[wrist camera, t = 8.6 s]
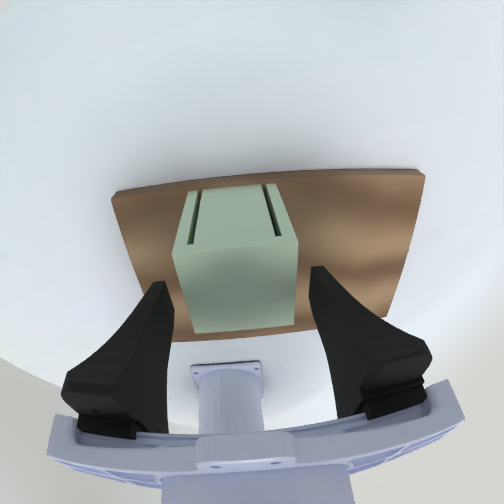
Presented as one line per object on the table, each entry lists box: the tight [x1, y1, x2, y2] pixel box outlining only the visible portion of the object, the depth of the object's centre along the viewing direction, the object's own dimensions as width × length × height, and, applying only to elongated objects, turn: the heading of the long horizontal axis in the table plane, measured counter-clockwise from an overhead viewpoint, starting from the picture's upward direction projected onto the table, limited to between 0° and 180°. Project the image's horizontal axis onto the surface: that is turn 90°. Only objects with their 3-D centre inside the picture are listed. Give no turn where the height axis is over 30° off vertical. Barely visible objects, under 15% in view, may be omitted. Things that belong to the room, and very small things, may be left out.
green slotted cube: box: [172, 183, 298, 334], centre depth 16 cm, size 5×5×7 cm
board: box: [111, 169, 425, 342], centre depth 22 cm, size 15×22×1 cm
